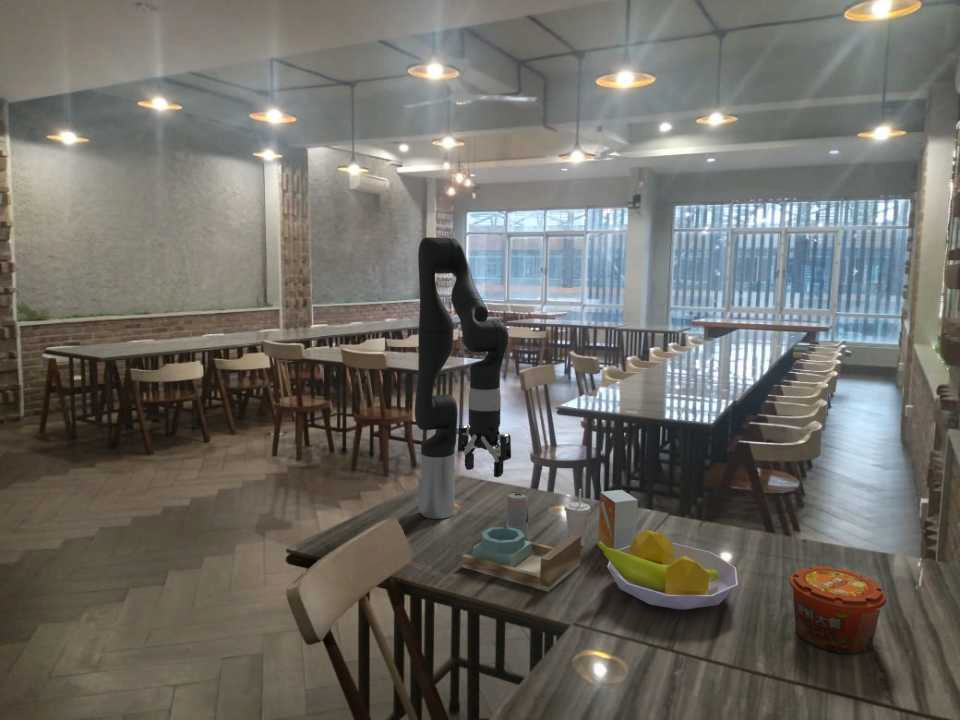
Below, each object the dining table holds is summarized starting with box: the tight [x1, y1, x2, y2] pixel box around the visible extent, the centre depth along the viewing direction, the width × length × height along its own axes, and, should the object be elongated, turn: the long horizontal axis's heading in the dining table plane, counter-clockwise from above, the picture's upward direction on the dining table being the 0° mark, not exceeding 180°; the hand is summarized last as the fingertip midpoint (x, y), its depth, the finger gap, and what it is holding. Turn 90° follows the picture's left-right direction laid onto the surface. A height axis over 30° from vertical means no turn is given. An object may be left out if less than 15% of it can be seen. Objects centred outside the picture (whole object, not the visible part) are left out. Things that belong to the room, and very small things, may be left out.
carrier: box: [472, 526, 533, 567], centre depth 163 cm, size 10×10×5 cm
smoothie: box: [563, 488, 591, 547], centre depth 173 cm, size 6×6×14 cm
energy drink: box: [506, 491, 529, 541], centre depth 174 cm, size 5×5×12 cm
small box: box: [597, 489, 639, 550], centre depth 171 cm, size 8×6×13 cm
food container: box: [788, 565, 887, 655], centre depth 130 cm, size 16×16×11 cm
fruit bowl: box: [596, 529, 739, 611], centre depth 147 cm, size 28×27×11 cm
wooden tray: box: [461, 534, 582, 593], centre depth 160 cm, size 22×16×7 cm
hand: (483, 472), depth 167 cm, fingers open, 8 cm apart
